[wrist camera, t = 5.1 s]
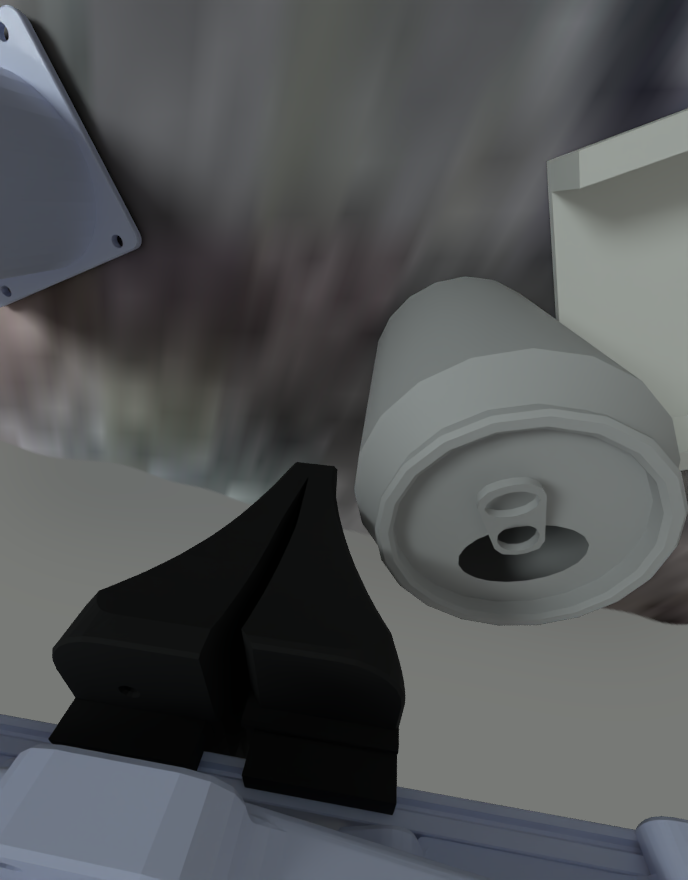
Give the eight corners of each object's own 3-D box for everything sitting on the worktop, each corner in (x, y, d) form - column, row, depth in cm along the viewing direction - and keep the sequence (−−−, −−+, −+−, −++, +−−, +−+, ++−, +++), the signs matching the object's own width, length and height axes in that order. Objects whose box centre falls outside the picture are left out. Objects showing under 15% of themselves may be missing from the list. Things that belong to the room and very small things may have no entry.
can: (401, 441, 21) (402, 660, 11) (353, 309, 18) (289, 446, 7) (547, 403, 19) (722, 633, 9) (525, 244, 15) (767, 315, 5)
